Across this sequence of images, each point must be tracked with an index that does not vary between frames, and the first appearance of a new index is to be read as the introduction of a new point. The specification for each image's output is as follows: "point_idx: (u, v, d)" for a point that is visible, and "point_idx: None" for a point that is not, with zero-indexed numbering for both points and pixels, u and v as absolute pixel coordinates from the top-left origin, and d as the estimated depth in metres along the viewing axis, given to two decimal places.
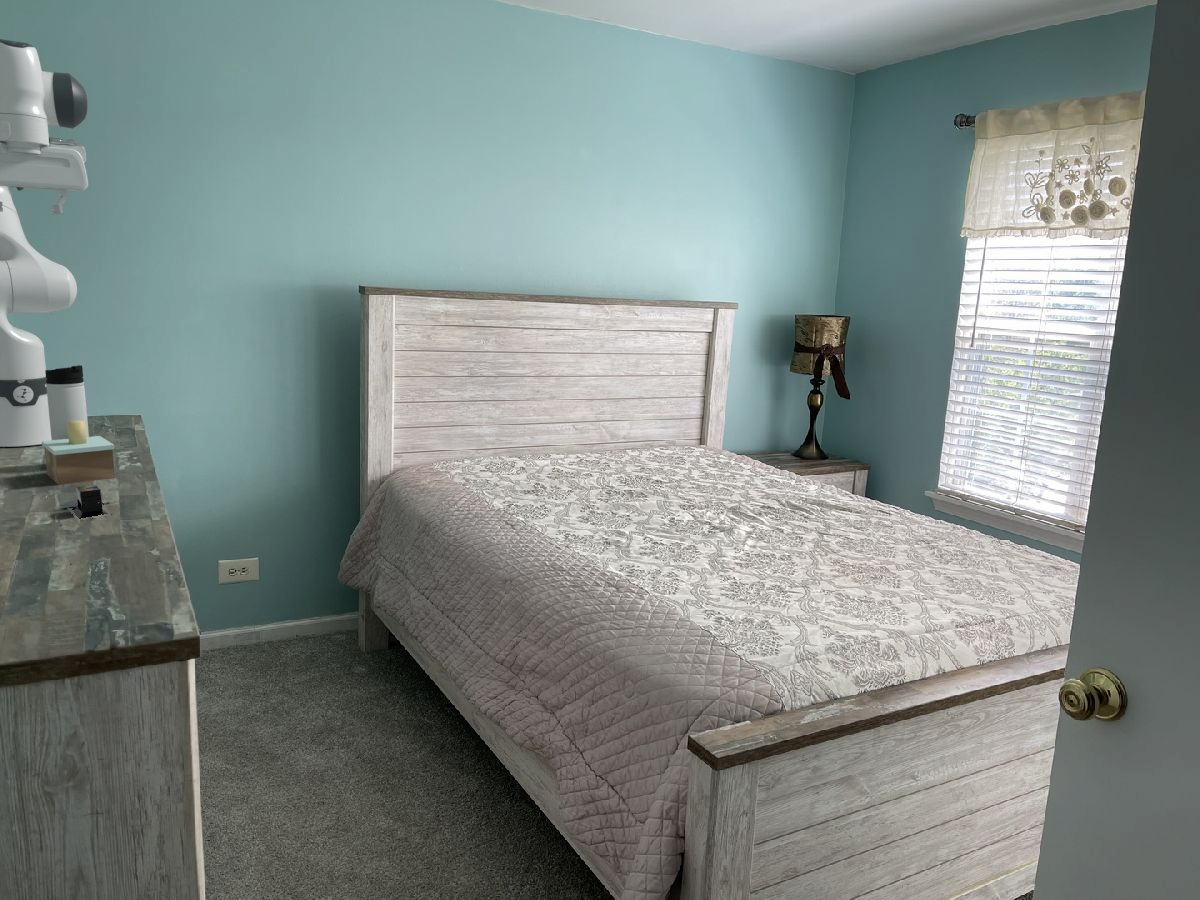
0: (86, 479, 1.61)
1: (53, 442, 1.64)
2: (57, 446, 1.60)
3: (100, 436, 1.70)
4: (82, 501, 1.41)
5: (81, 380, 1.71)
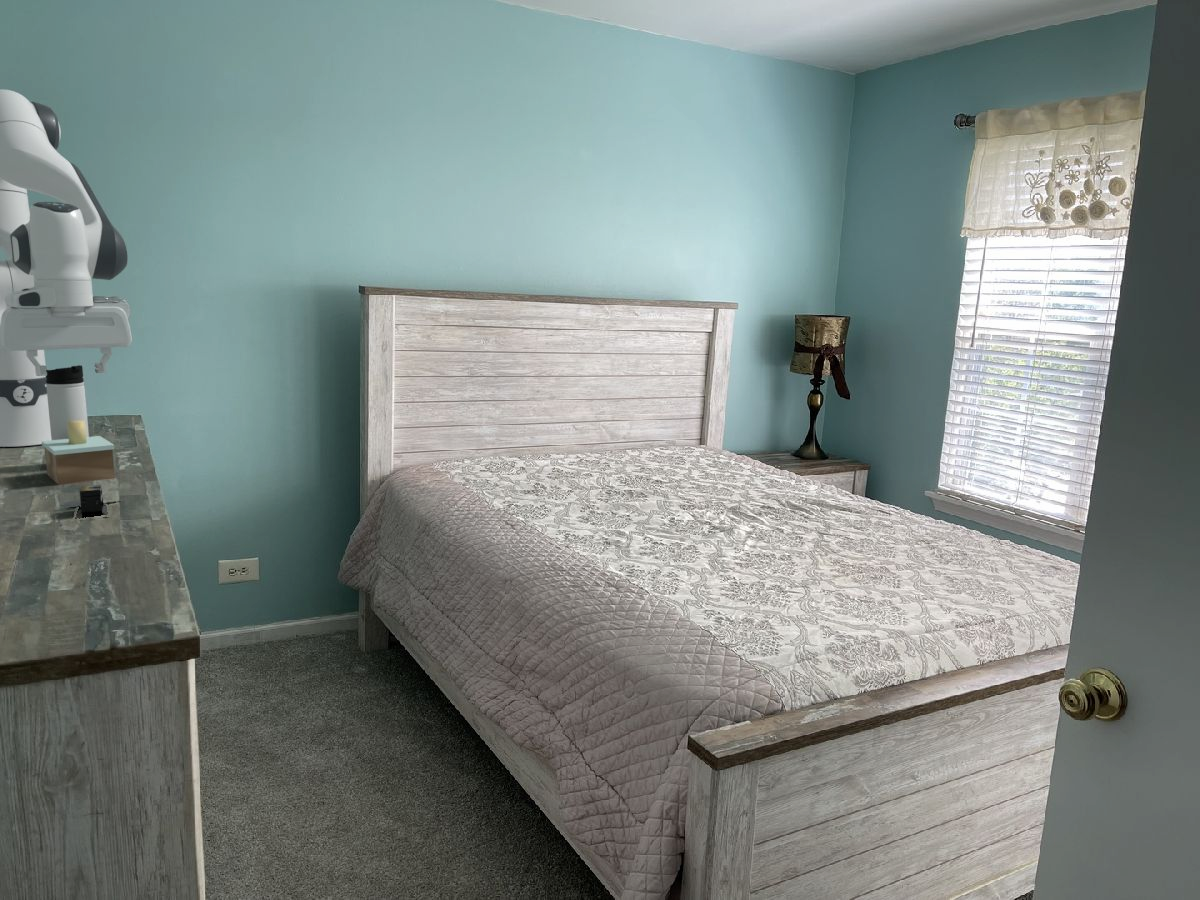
0: (86, 479, 1.61)
1: (53, 442, 1.64)
2: (57, 446, 1.60)
3: (100, 436, 1.70)
4: (81, 501, 1.41)
5: (81, 380, 1.71)
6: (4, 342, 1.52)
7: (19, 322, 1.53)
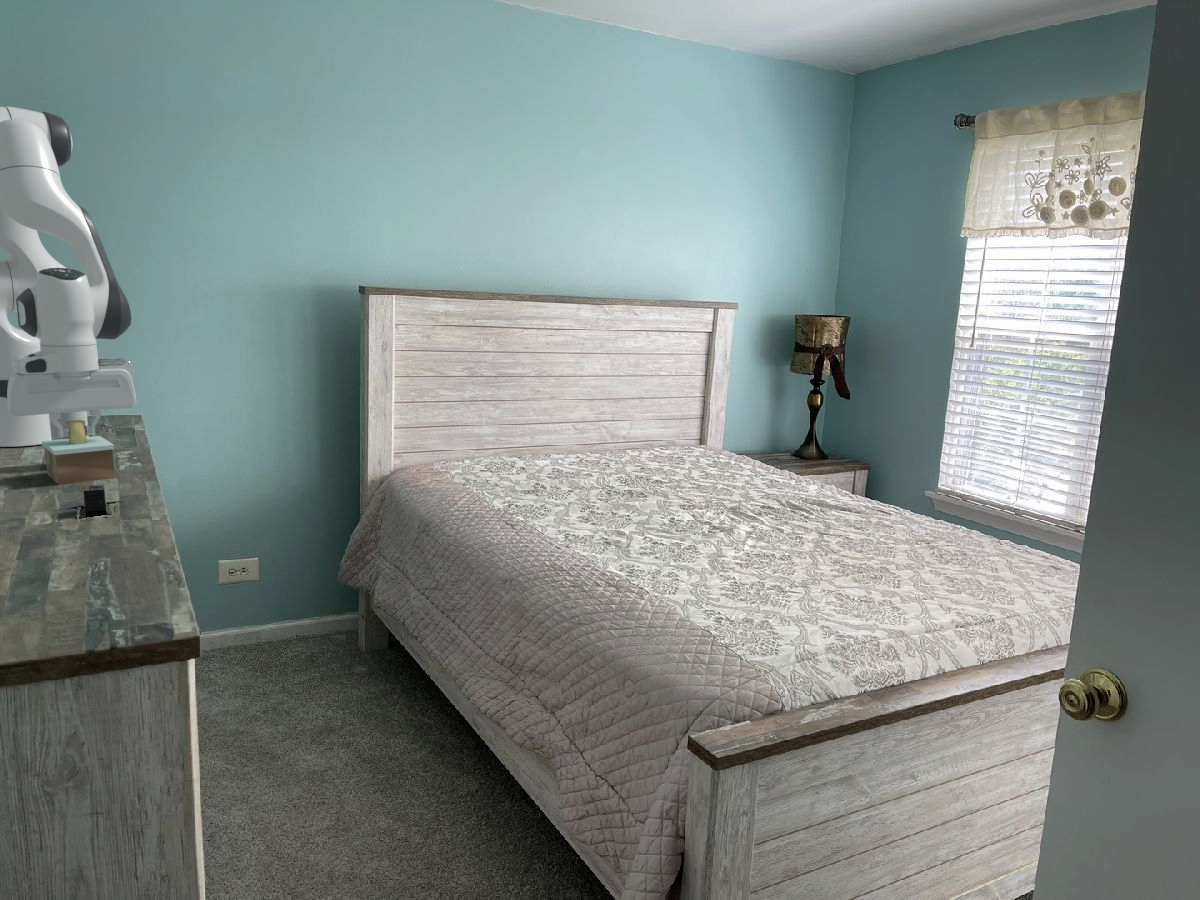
0: (86, 479, 1.61)
1: (53, 442, 1.64)
2: (57, 446, 1.60)
3: (100, 436, 1.70)
4: (85, 500, 1.42)
5: None
6: (11, 408, 1.55)
7: (25, 388, 1.56)
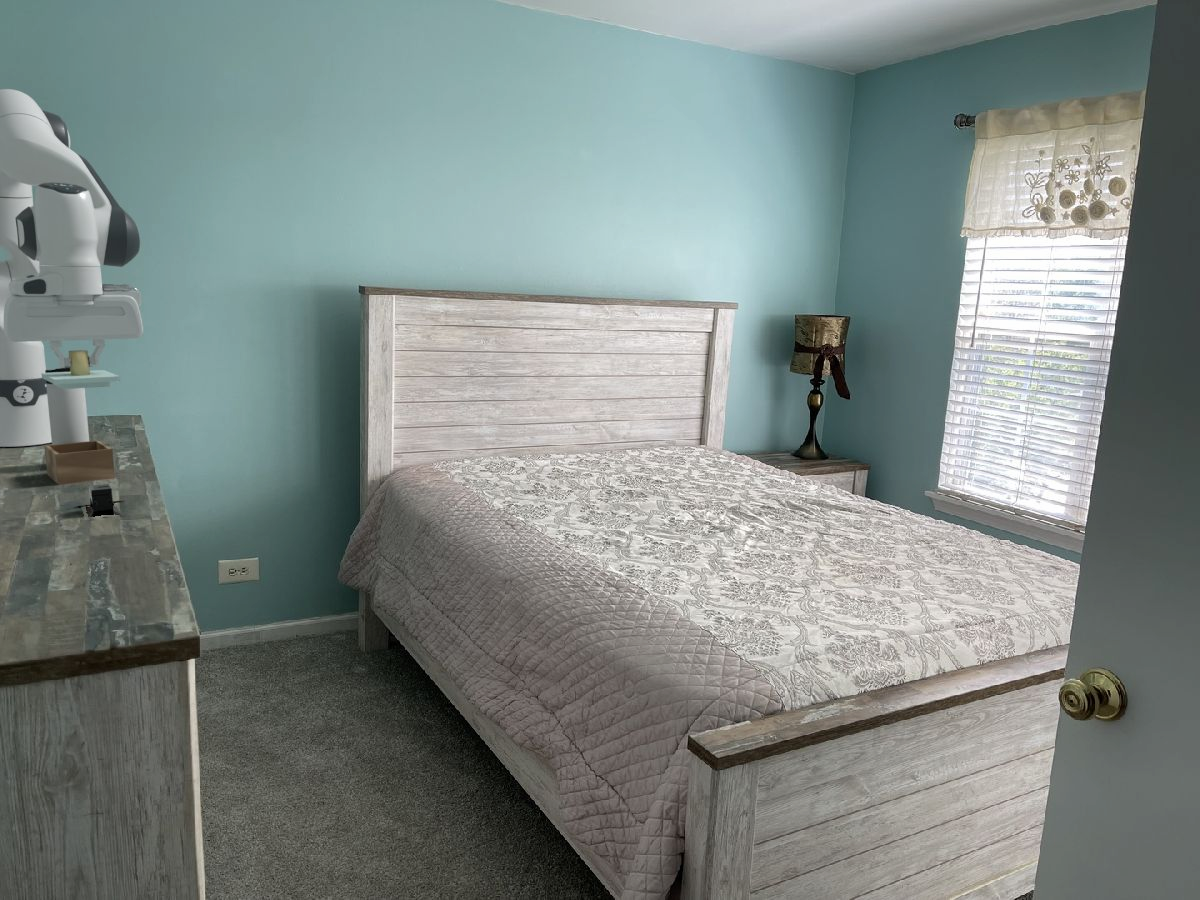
0: (86, 479, 1.61)
1: (53, 374, 1.51)
2: (58, 376, 1.48)
3: (104, 370, 1.58)
4: (93, 500, 1.42)
5: None
6: (8, 332, 1.43)
7: (23, 311, 1.43)
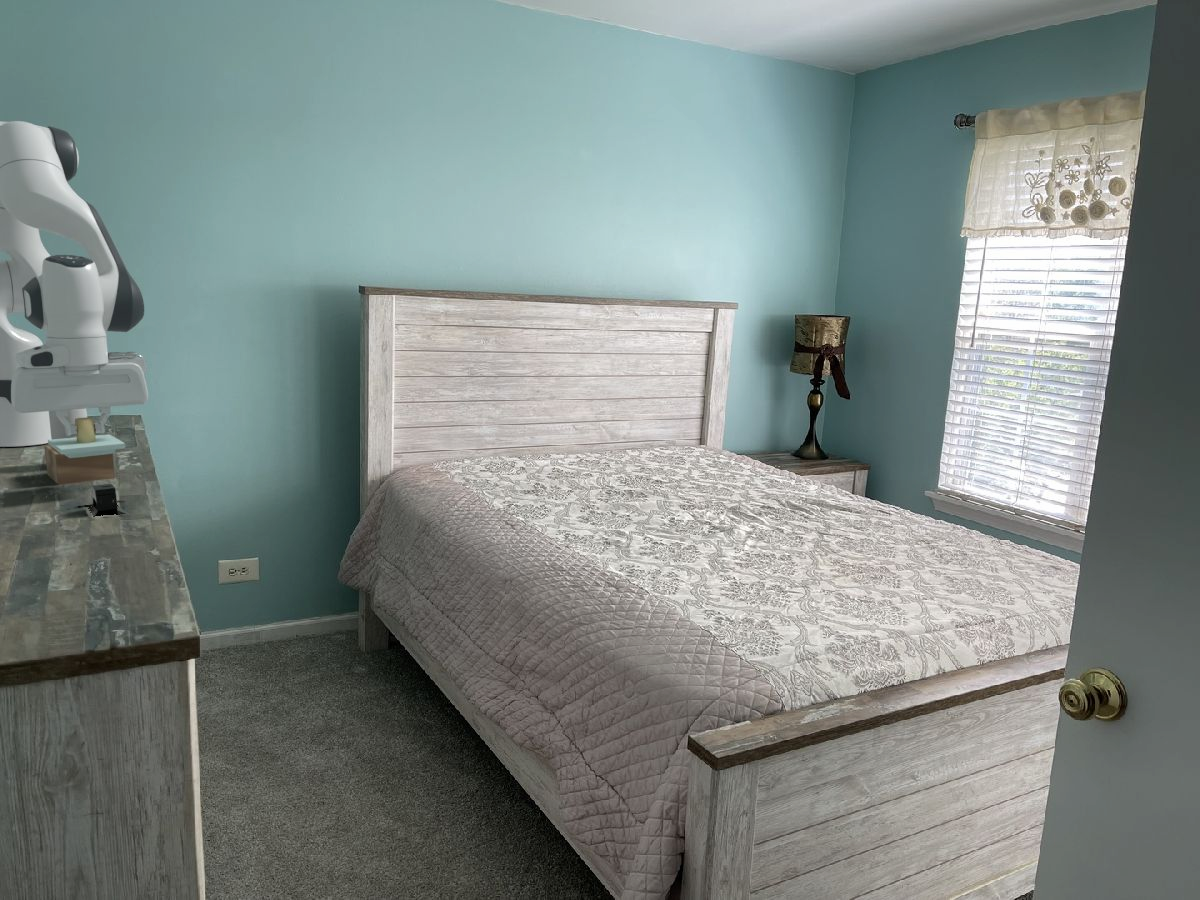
0: (86, 479, 1.61)
1: (60, 441, 1.54)
2: (64, 445, 1.50)
3: None
4: (97, 499, 1.42)
5: None
6: (15, 404, 1.45)
7: (30, 383, 1.46)
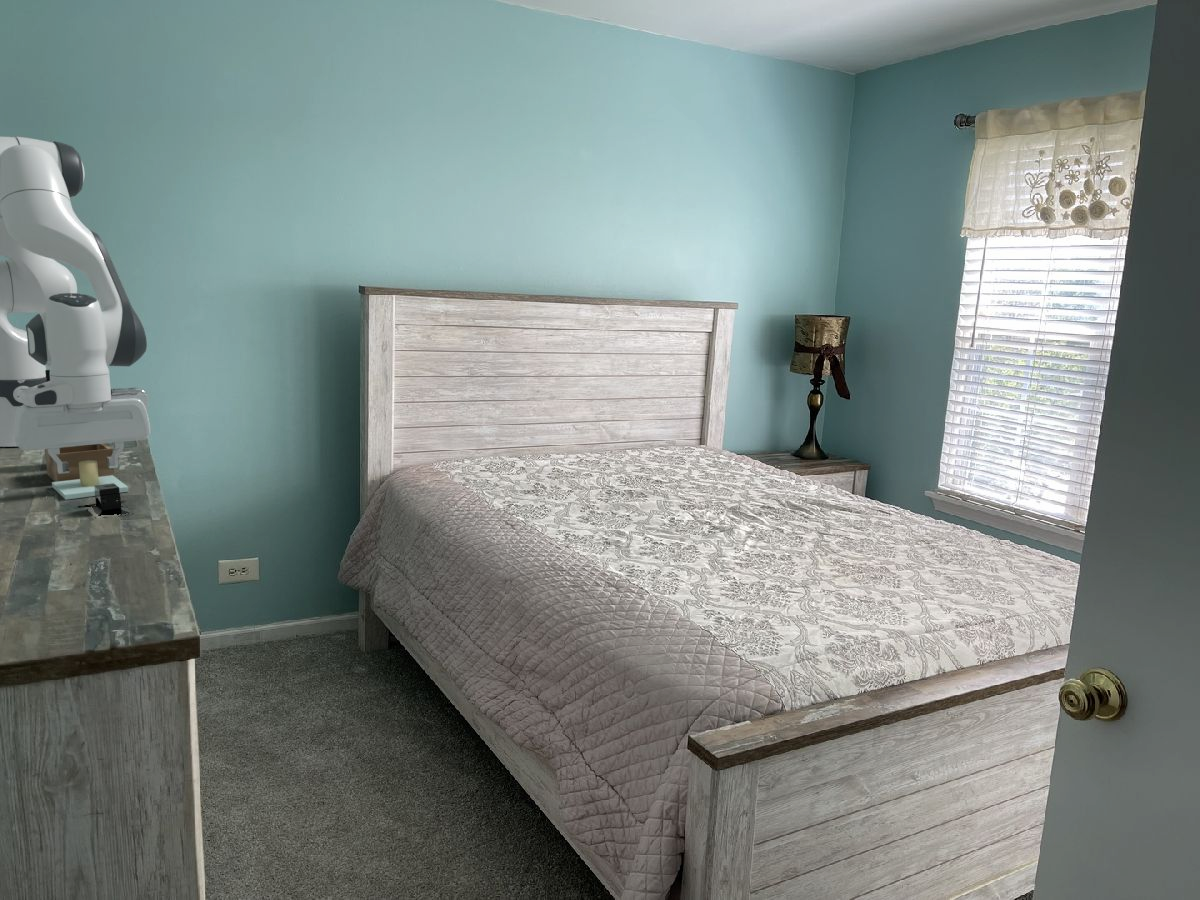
0: None
1: (64, 484, 1.55)
2: (68, 489, 1.52)
3: (113, 476, 1.62)
4: (101, 499, 1.43)
5: None
6: (19, 442, 1.46)
7: (34, 421, 1.47)
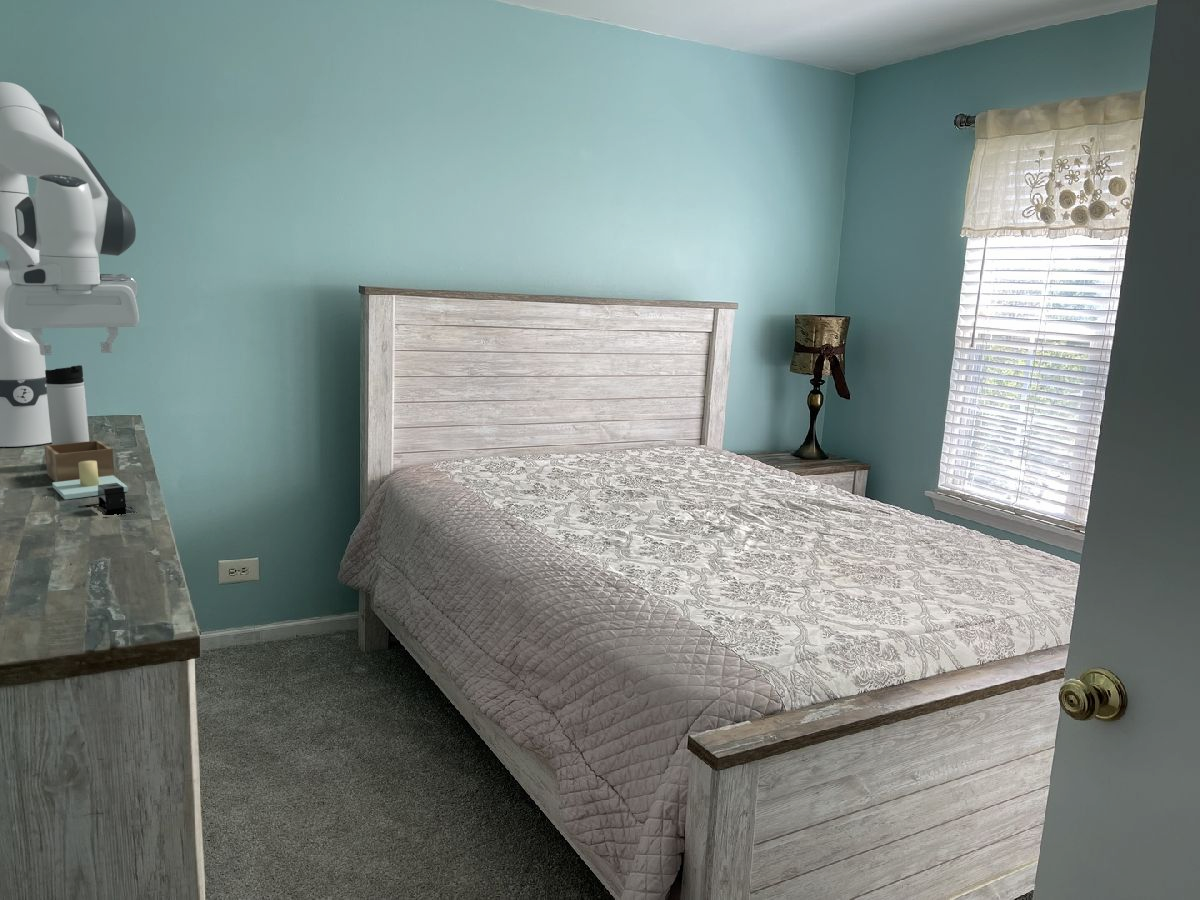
0: None
1: (64, 484, 1.55)
2: (68, 489, 1.52)
3: (113, 476, 1.62)
4: (106, 498, 1.43)
5: (81, 380, 1.71)
6: (8, 320, 1.48)
7: (23, 300, 1.48)
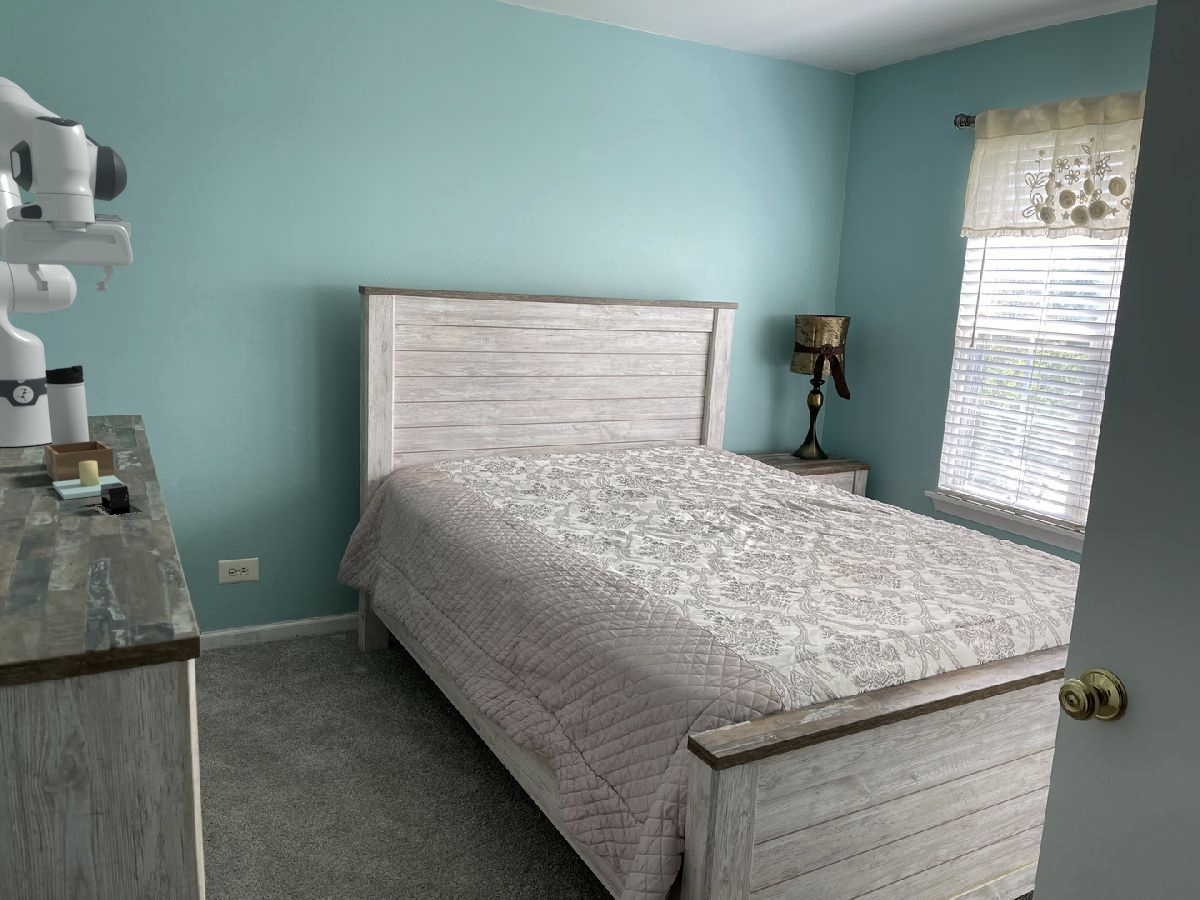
0: None
1: (64, 483, 1.55)
2: (68, 489, 1.52)
3: (114, 476, 1.62)
4: (111, 498, 1.43)
5: (81, 380, 1.71)
6: (6, 254, 1.53)
7: (20, 235, 1.54)
